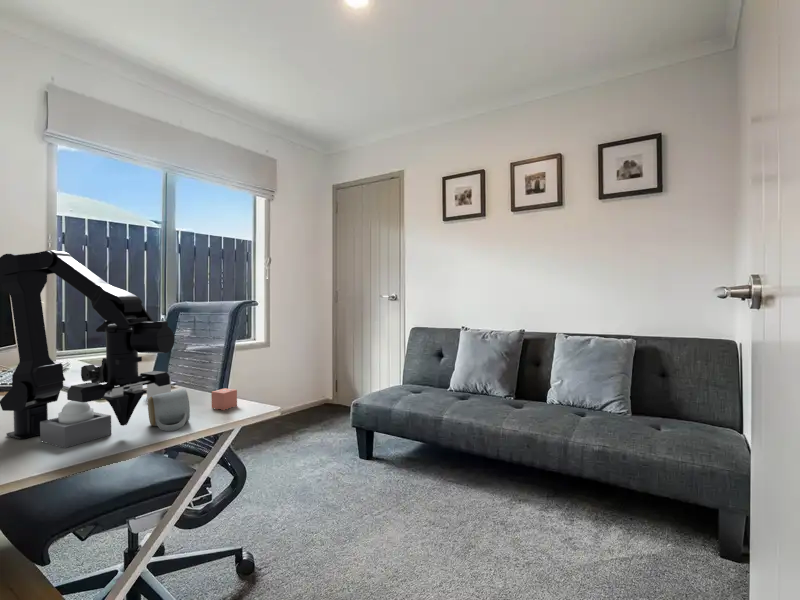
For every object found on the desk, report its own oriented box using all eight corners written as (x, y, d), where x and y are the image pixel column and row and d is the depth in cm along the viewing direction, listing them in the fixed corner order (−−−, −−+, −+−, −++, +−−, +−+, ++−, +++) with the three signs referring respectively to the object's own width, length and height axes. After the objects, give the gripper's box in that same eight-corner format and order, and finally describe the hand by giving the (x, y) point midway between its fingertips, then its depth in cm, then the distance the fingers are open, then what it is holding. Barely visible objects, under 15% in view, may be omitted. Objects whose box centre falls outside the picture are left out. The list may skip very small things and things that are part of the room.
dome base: (40, 441, 90) (40, 421, 90) (87, 429, 98) (86, 410, 98) (64, 448, 86) (64, 427, 86) (111, 434, 94) (111, 415, 94)
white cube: (146, 398, 128) (146, 377, 128) (169, 395, 131) (169, 375, 131) (147, 402, 122) (147, 381, 122) (171, 399, 126) (170, 378, 126)
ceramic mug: (147, 422, 102) (146, 391, 102) (184, 416, 107) (184, 386, 107) (153, 435, 94) (152, 400, 94) (194, 428, 99) (193, 394, 99)
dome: (52, 425, 91) (51, 401, 90) (83, 417, 96) (83, 395, 96) (68, 428, 88) (68, 404, 88) (99, 420, 93) (99, 398, 93)
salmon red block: (211, 408, 115) (211, 391, 115) (225, 404, 119) (224, 387, 119) (223, 410, 113) (223, 392, 113) (237, 406, 117) (236, 389, 117)
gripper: (140, 346, 104) (141, 410, 104) (50, 356, 87) (52, 433, 88) (171, 348, 99) (172, 415, 100) (83, 359, 83) (84, 440, 83)
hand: (123, 425), depth 93 cm, fingers closed
